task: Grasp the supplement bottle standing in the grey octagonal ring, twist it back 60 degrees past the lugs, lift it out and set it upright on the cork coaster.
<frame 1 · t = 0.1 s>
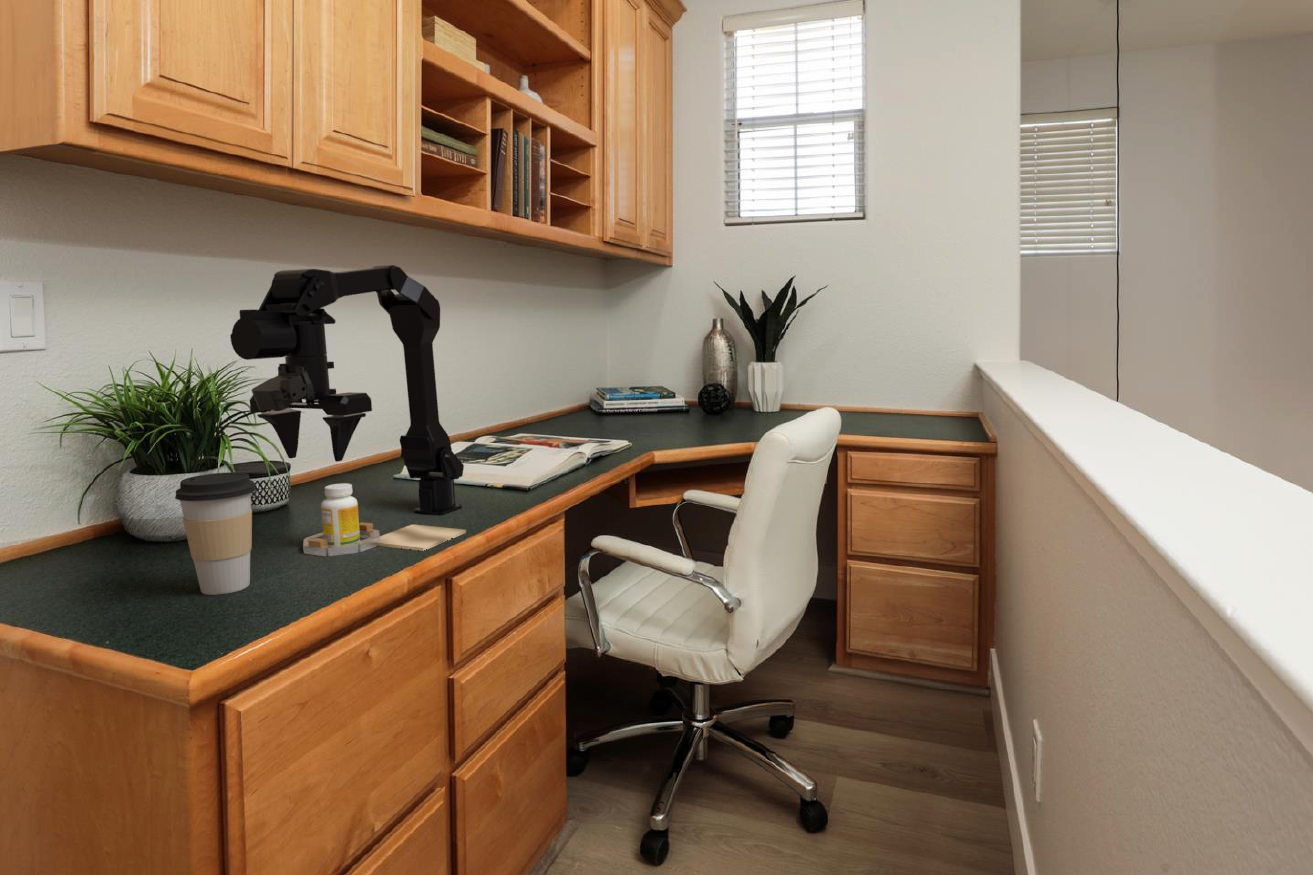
hand: (315, 459, 119), 14 cm above the table, tool pointing down, fingers open, 9 cm apart
coaster: (417, 538, 128), on the table
supplement bottle: (342, 546, 125), resting in grey octagonal ring
coffee cup: (226, 588, 106), on the table
grey octagonal ring: (342, 545, 125), on the table
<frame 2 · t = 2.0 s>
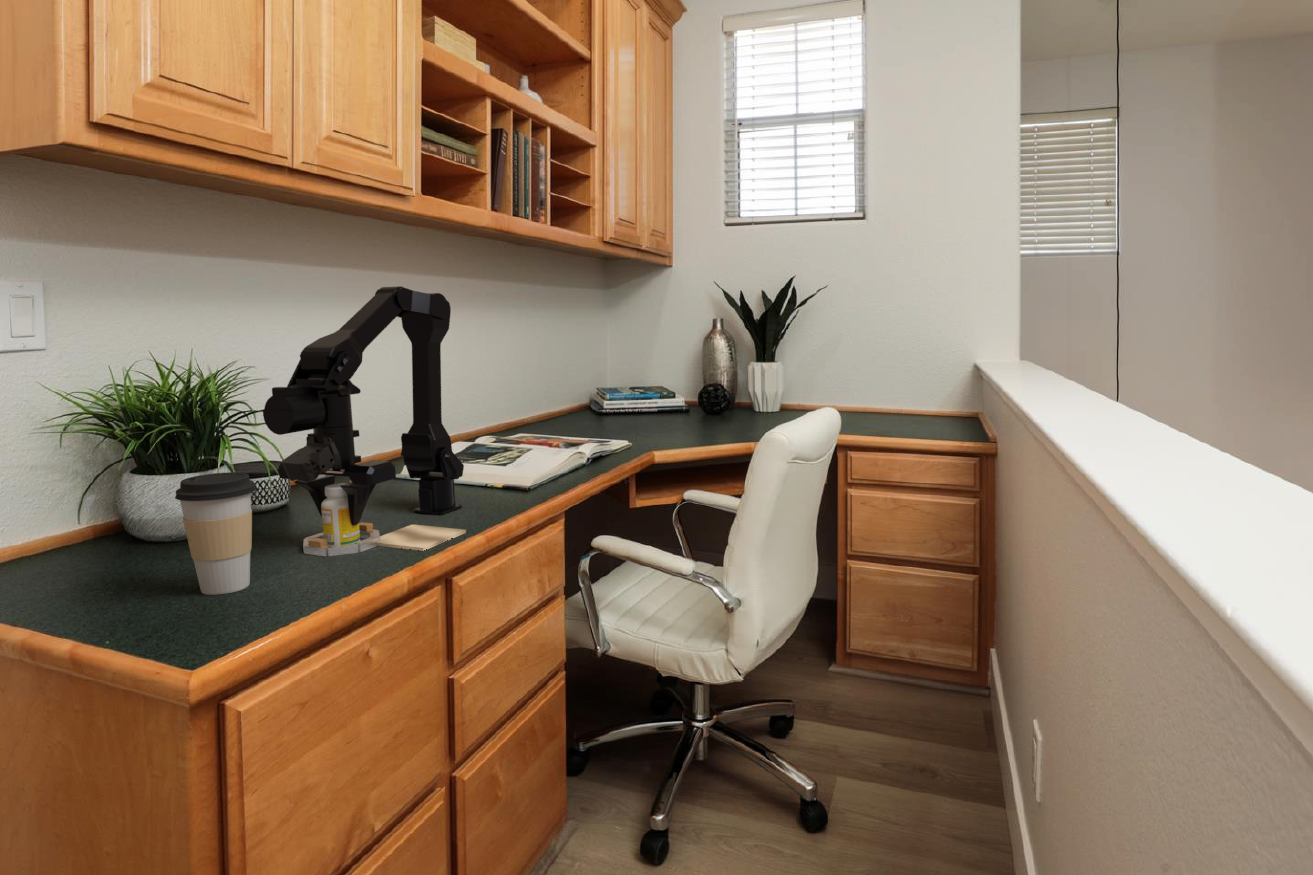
hand: (340, 523, 125), 4 cm above the table, tool pointing down, fingers closed on supplement bottle, 5 cm apart
supplement bottle: (342, 546, 125), resting in grey octagonal ring, touching gripper
everything else where it was.
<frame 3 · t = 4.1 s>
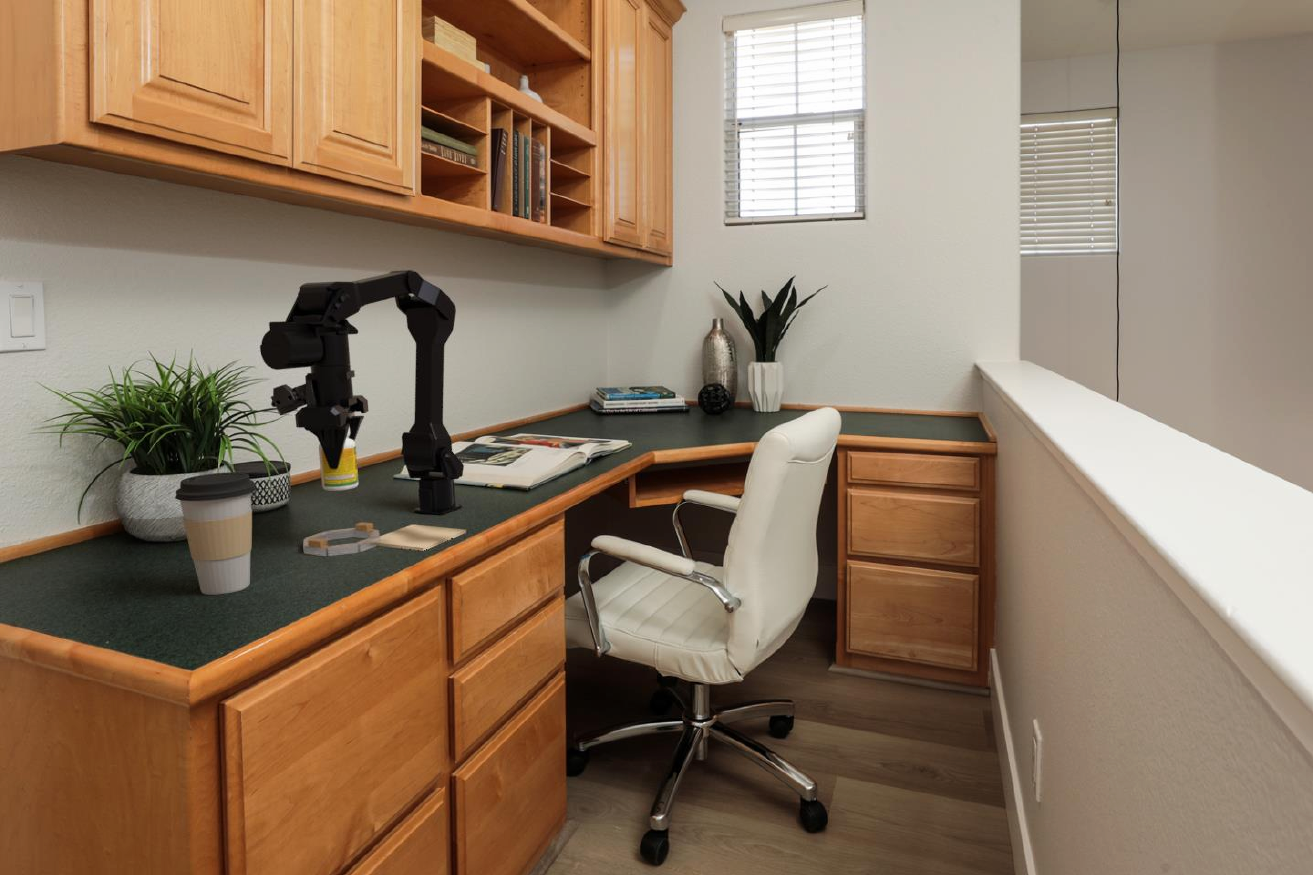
hand: (338, 465, 124), 13 cm above the table, tool pointing down, fingers closed on supplement bottle, 5 cm apart
supplement bottle: (340, 488, 124), point 9 cm above the table, touching gripper
everything else where it was.
when the fingers open (5 cm above the table, at t = 6.6 s): supplement bottle stays where it is, resting on coaster.
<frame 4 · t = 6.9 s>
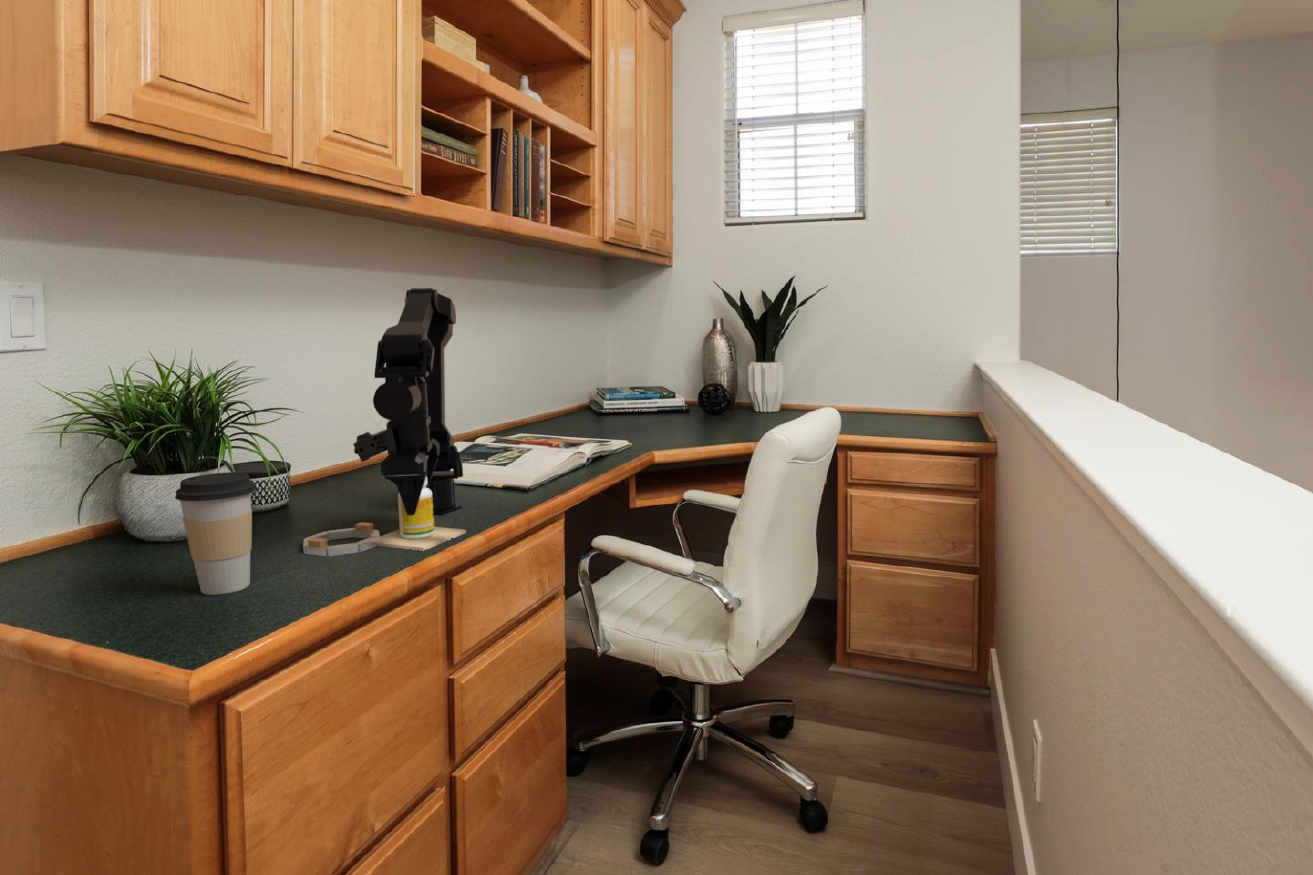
hand: (415, 508, 128), 5 cm above the table, tool pointing down, fingers open, 9 cm apart
supplement bottle: (417, 536, 128), resting on coaster
everything else where it was.
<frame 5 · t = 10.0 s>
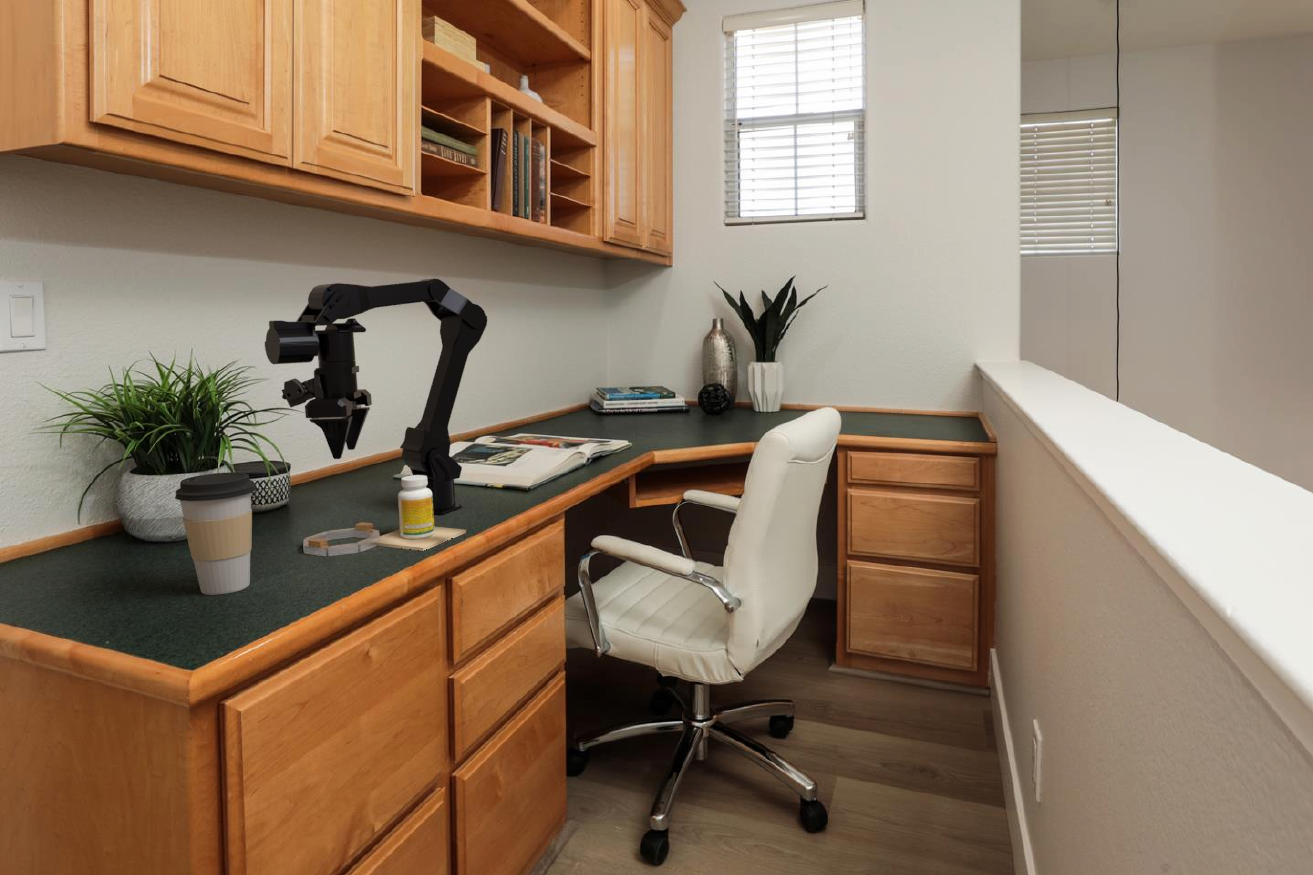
hand: (344, 454, 133), 13 cm above the table, tool pointing down, fingers open, 9 cm apart
nothing on the table moved.
at the end: supplement bottle inside the target area on the coaster (0.1 cm from its centre), point 0.3 cm above the coaster's base; supplement bottle tilted 0°; the gripper is holding nothing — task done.
